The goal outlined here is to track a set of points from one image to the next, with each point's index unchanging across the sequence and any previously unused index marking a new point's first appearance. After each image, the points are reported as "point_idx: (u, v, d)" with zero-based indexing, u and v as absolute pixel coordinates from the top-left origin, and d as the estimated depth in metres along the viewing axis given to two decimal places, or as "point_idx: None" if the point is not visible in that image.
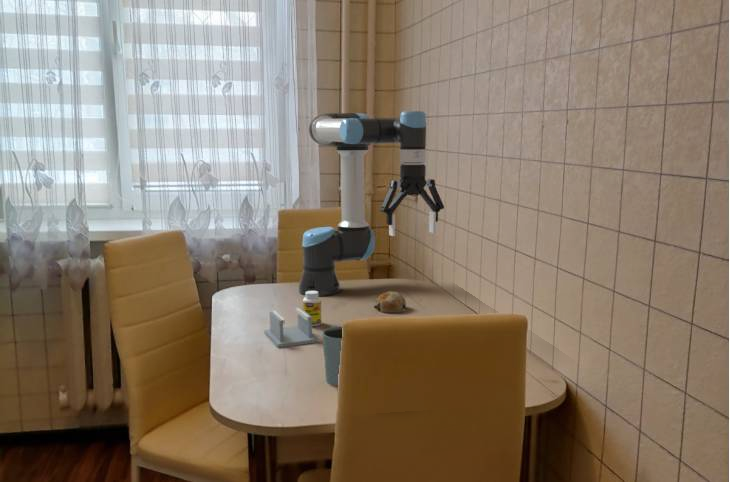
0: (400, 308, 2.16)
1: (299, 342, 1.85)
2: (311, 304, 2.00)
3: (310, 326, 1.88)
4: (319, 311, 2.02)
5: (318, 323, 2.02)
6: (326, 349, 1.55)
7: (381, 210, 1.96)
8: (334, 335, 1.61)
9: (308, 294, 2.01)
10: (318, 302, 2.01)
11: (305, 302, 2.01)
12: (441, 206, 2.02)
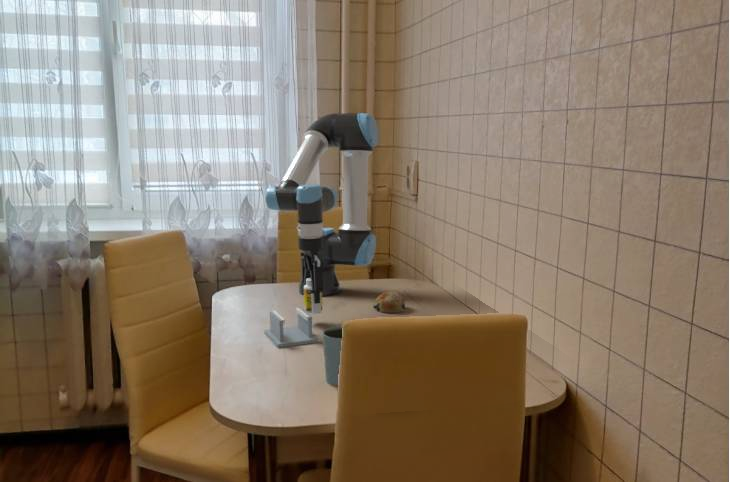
0: (399, 308, 2.16)
1: (299, 342, 1.85)
2: (311, 291, 2.00)
3: (310, 326, 1.88)
4: None
5: None
6: (326, 349, 1.55)
7: None
8: (334, 335, 1.61)
9: (309, 281, 2.01)
10: None
11: (306, 289, 2.01)
12: (314, 289, 1.97)
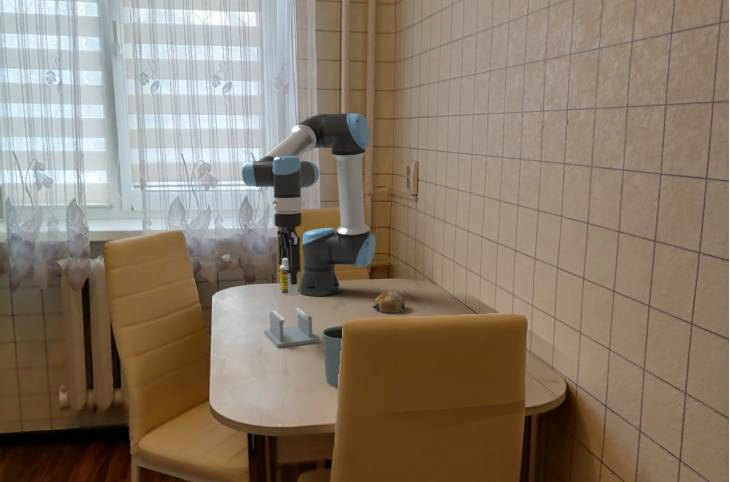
0: (399, 308, 2.16)
1: (299, 342, 1.85)
2: None
3: (310, 326, 1.88)
4: None
5: None
6: (326, 349, 1.55)
7: None
8: (334, 335, 1.61)
9: (285, 260, 1.86)
10: None
11: (282, 269, 1.86)
12: (291, 268, 1.82)
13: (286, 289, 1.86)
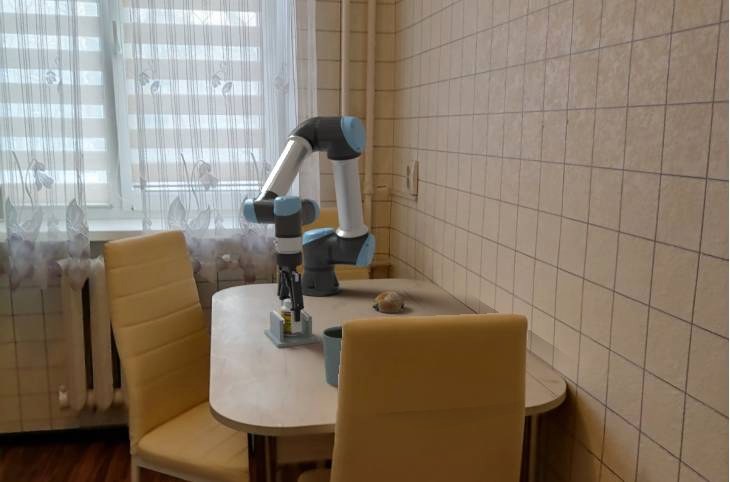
0: (398, 308, 2.16)
1: (299, 342, 1.85)
2: (289, 313, 1.87)
3: (310, 326, 1.88)
4: None
5: (297, 333, 1.89)
6: (326, 349, 1.55)
7: None
8: (334, 335, 1.61)
9: (286, 302, 1.88)
10: None
11: (283, 311, 1.88)
12: (294, 306, 1.82)
13: (287, 330, 1.88)
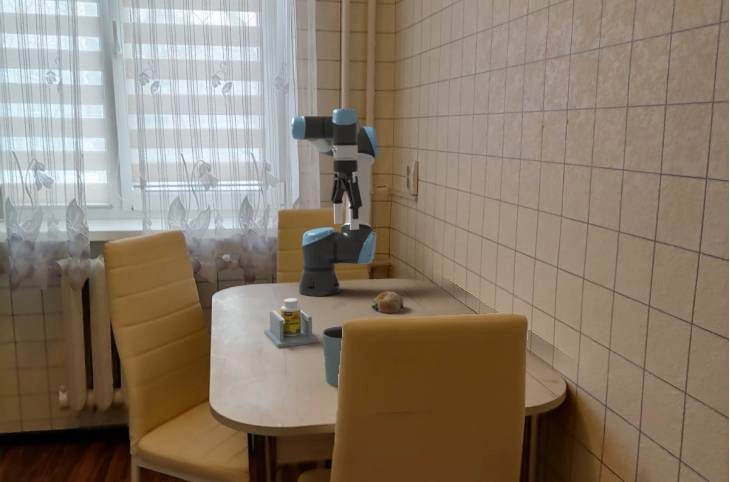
0: (398, 308, 2.16)
1: (299, 342, 1.85)
2: (289, 313, 1.87)
3: (310, 326, 1.88)
4: (298, 320, 1.89)
5: (297, 333, 1.89)
6: (326, 349, 1.55)
7: None
8: (334, 335, 1.61)
9: (286, 302, 1.88)
10: (297, 310, 1.88)
11: (283, 311, 1.88)
12: (353, 204, 2.00)
13: (287, 330, 1.88)
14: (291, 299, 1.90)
